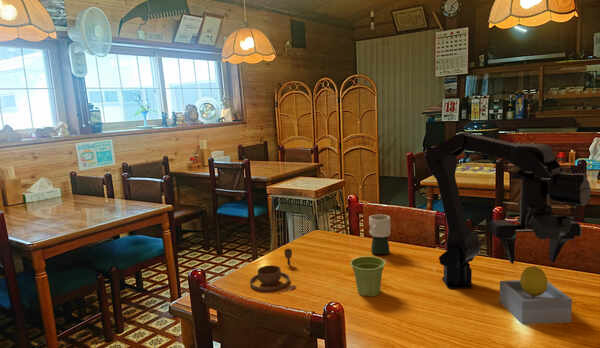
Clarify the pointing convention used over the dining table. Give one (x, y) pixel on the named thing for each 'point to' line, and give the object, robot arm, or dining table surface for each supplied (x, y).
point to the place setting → (272, 276)
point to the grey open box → (535, 304)
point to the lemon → (533, 281)
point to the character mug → (379, 233)
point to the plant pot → (368, 274)
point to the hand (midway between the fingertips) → (531, 262)
